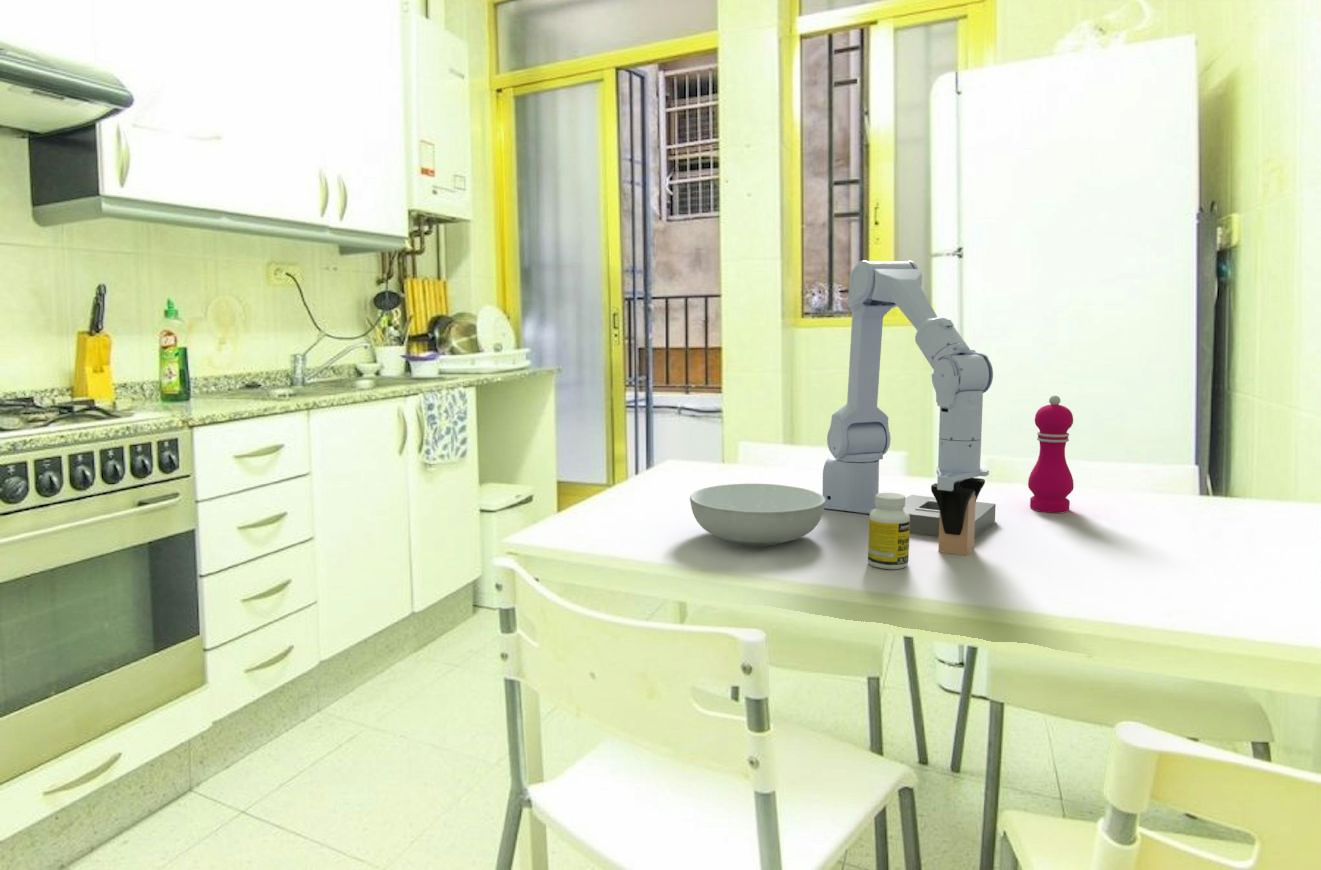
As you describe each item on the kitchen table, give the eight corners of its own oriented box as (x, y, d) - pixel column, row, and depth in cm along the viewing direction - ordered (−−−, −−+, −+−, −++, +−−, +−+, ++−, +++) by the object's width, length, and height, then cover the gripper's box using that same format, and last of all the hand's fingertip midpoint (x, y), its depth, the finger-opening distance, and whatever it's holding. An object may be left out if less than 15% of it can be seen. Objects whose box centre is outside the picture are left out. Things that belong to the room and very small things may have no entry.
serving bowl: (813, 563, 114) (813, 515, 113) (672, 551, 121) (671, 506, 120) (834, 527, 133) (834, 486, 132) (712, 518, 141) (711, 479, 140)
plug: (938, 551, 118) (940, 493, 117) (946, 544, 122) (947, 488, 120) (966, 555, 116) (968, 496, 115) (973, 548, 119) (975, 491, 118)
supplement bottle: (902, 572, 109) (904, 501, 107) (862, 566, 112) (864, 497, 110) (913, 562, 113) (915, 493, 112) (874, 556, 116) (876, 489, 115)
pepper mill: (1027, 511, 141) (1032, 397, 138) (1026, 503, 147) (1031, 393, 144) (1074, 515, 138) (1080, 397, 135) (1070, 505, 144) (1076, 394, 142)
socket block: (883, 529, 131) (883, 509, 131) (910, 511, 142) (911, 493, 142) (973, 541, 123) (974, 520, 123) (994, 521, 135) (995, 502, 134)
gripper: (976, 447, 108) (972, 545, 110) (1000, 433, 120) (997, 523, 122) (923, 443, 112) (920, 538, 114) (952, 430, 124) (949, 517, 126)
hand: (956, 530), depth 118 cm, fingers closed on plug, 4 cm apart
